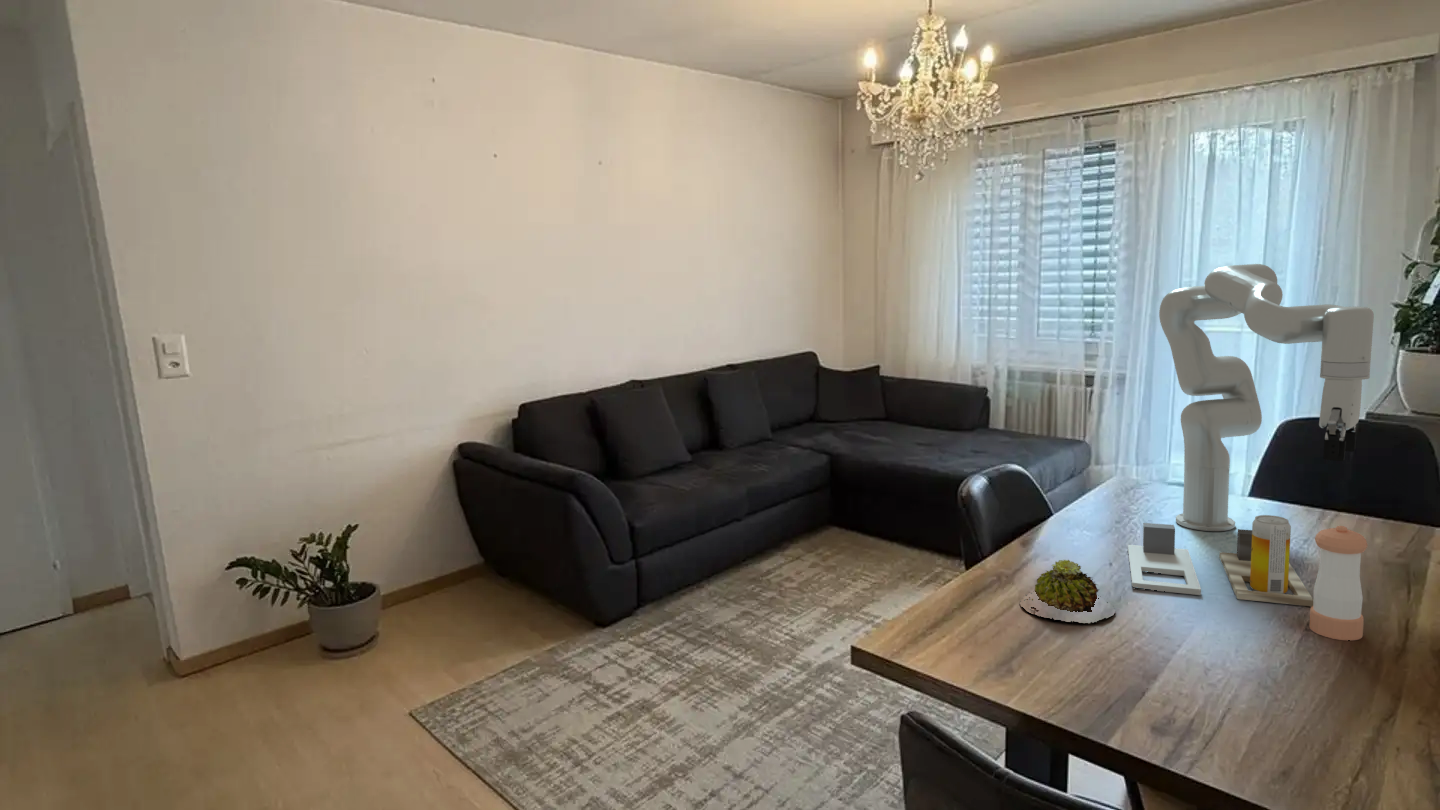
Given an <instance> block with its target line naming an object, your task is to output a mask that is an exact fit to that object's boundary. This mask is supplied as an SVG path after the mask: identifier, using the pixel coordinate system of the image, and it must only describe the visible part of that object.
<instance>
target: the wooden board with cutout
mask: <svg viewBox="0 0 1440 810" xmlns="http://www.w3.org/2000/svg"><path fill="white" fill-rule="evenodd" d="M1236 537H1237V538H1236V539H1237V540H1236V541H1237V543H1236V553H1235V552H1227V551H1226V552H1225V551H1223V552H1222V551H1219V552H1218V553H1219V555H1218V556H1219V557H1218V558H1219V560H1220V562H1221V565H1222V568H1223V569H1224V572H1225V574H1226V577H1227V580H1228V581H1229V583H1230V586H1231V589H1232V590H1233V593H1234V595H1235V597H1236V599H1237V600H1245V601H1254V602H1255V601H1256V602H1264V603H1273V604H1284V605H1294V606H1304V607H1312V606H1313V597H1312V595H1311V594H1310V591H1308V589H1307V587H1306V586H1305V585H1304V583H1303V581H1302V580H1301V578H1300V577H1299V575H1298V574H1297V573H1296V571H1295V569H1294V568H1293V566H1292V564H1291V563H1290V562H1289V575H1288V588H1289V589H1290V591H1291V593H1292V594H1287V593H1285V594H1280V593H1270V592H1259V591H1253V590H1250V589H1248V587H1247V585H1246V584H1245V582H1248V583H1250V570H1251V547H1252V529H1242V528H1241V529H1239V528H1238V529H1237V536H1236Z"/></svg>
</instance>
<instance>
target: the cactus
mask: <svg viewBox="0 0 1440 810" xmlns="http://www.w3.org/2000/svg"><path fill="white" fill-rule="evenodd" d="M1051 566H1052V569H1049V570H1046V571H1045V572H1044V573H1043V572H1042V573H1041V574H1040V576H1038V578H1037V579H1036V583H1035V585H1034V591H1035V592H1036V594H1037V596H1038V597H1039V599H1038V600H1041V601H1042V602H1045V603H1047V604H1048V606H1054V607H1055V608H1057V609H1060V610H1067V611H1070V612H1073V611H1075V612H1077V611H1078V612H1083V611H1087V612H1092V610H1091V607H1094V605H1095V604H1094V603H1095V601H1096V599H1097V595H1098V594H1097V593H1099V589H1098V587H1097V586H1098V584H1097V583H1096V582H1095V581H1093V580H1094V578H1092V577H1091V576H1088V574H1087V573H1084V572H1083V571H1082V570H1081V568H1082V566H1081V565H1079V563H1078V562H1077V563H1075V562H1074V561H1071V560H1070V559H1061V560H1060V559H1059V560H1058V561H1055V562H1054V564H1052V565H1051ZM1098 599H1099V598H1098Z"/></svg>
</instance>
